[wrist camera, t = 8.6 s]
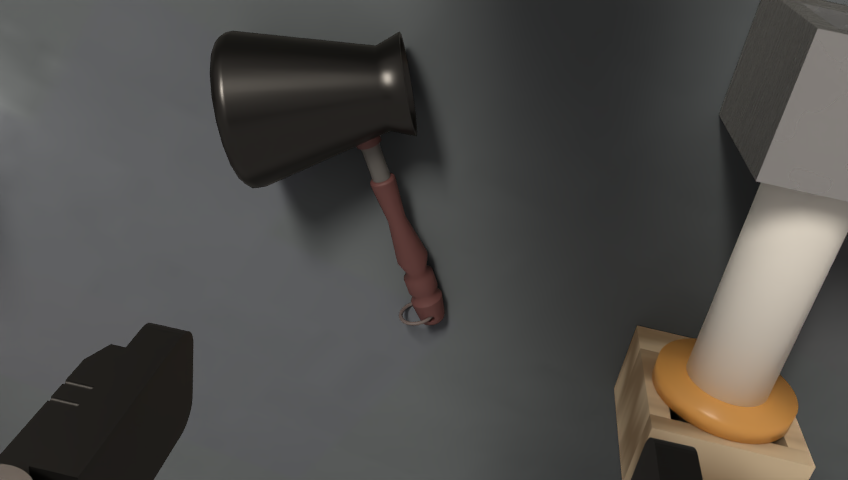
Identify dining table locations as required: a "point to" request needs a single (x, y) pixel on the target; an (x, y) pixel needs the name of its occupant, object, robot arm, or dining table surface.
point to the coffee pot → (321, 123)
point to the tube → (755, 320)
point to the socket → (719, 458)
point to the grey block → (793, 97)
